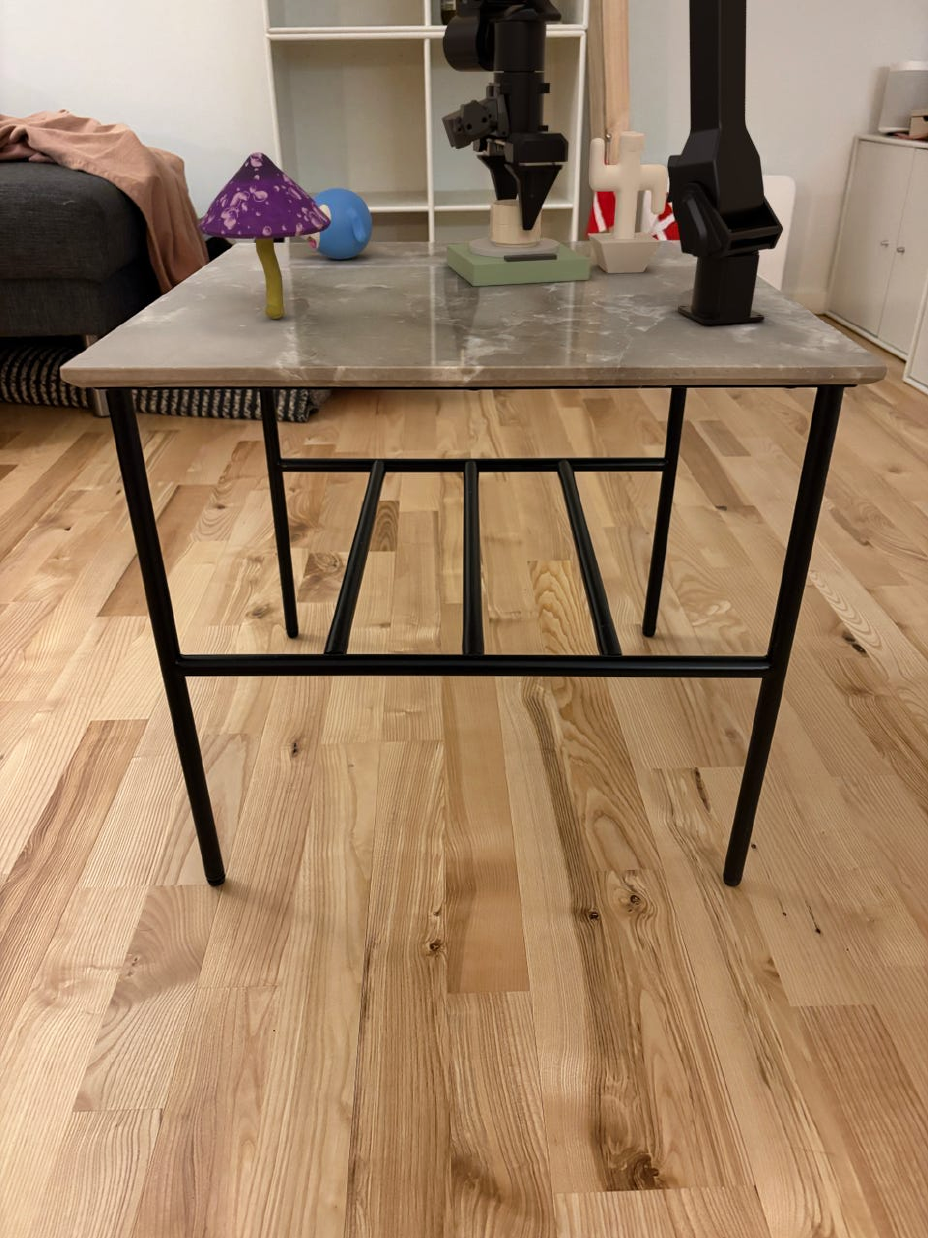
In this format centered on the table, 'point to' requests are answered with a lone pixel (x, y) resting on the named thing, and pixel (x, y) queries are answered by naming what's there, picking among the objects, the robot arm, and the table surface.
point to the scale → (516, 263)
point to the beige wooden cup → (511, 226)
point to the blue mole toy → (342, 224)
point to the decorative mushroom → (264, 217)
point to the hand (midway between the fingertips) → (515, 224)
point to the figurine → (626, 203)
